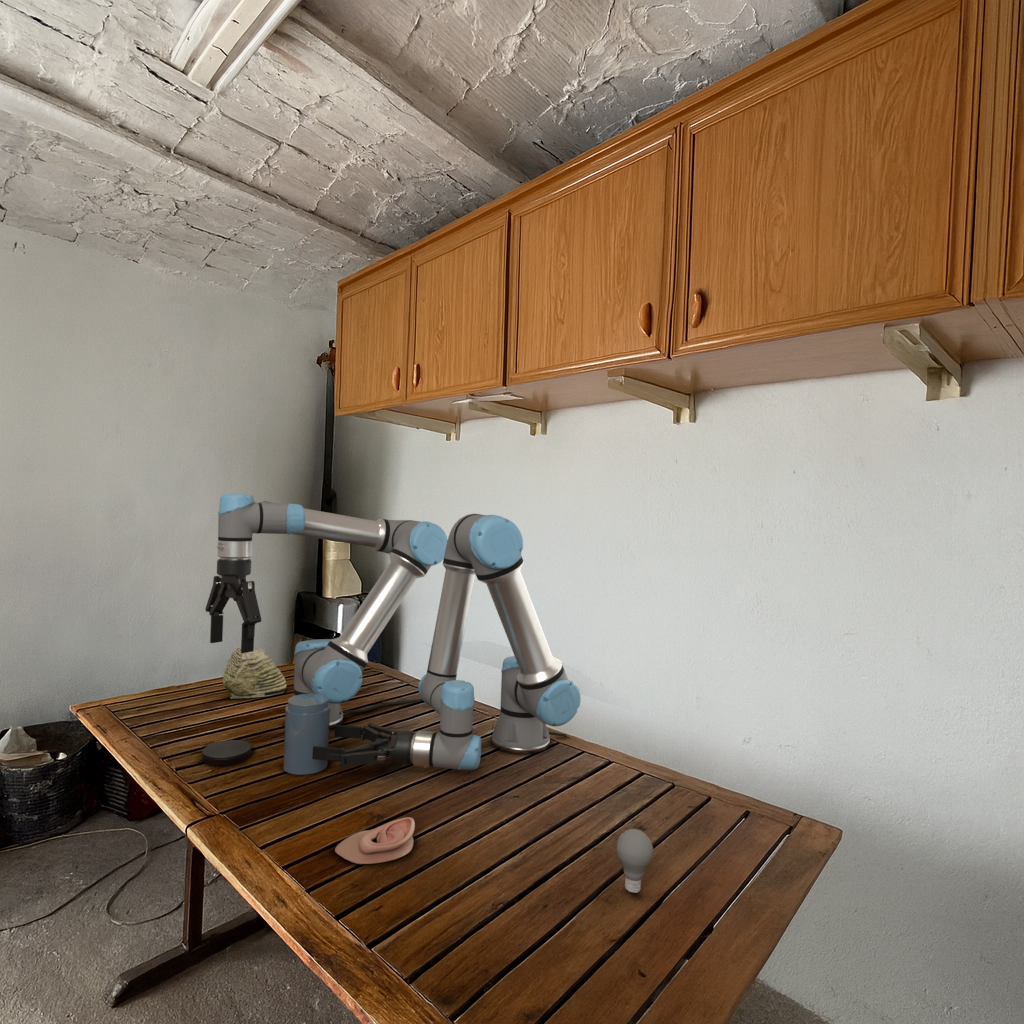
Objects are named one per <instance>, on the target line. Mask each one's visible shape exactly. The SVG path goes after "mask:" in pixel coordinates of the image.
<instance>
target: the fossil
mask: <svg viewBox="0 0 1024 1024" xmlns="http://www.w3.org/2000/svg"><path fill="white" fill-rule="evenodd" d="M222 676H223V677H222V685H223V687H224V688H225V690H226V691H228V693H229V698H230V699H250V698H264V697H271V696H275V695H281V694H284V693H285V691H286V689H287V687H288V686H287V680H286V678H285V676H284V674H283V673H282V672H281V669H279V668H278V667H277V665H276V663H275V662H274V660H273V659H272V658H271V657H270V656H269V655H268V654H267V653H266V652H265V650H264V649H263V648H260V647H258V648H254V651H253V652H247V653H241V646H238V647H237V648H236V649H235V650H233V651H232V653H231V656H230V657H229V659H228V660H227V663H226V666H225V668H224V671H223V675H222Z"/></svg>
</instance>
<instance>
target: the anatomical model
mask: <svg viewBox="0 0 1024 1024" xmlns="http://www.w3.org/2000/svg"><path fill="white" fill-rule="evenodd" d="M415 828H416V823H415V820H414V818H413V817H410V816H409V817H402V818H398V819H395V820H392V821H389V822H386V823H384V824H382V825H380V826H377V827H375V828H372V829H368V830H361V831H358V832H356V833H353V834H352V835H350V836H348V837H346V838H345V839H343V840H342V841H340V843H338V844H337V845H336V846H335V848H334V852H335V853H336V854H337V855H338V856H340V857H341V858H343V859H344V860H347V861H348V862H351V863H353V864H357V865H369V864H370V865H371V864H380V863H385V862H390V861H394V860H398V859H400V858H402V857H404V856H407V855H408V854H409V853H410V852H411V851H412V849H413V847H414V837H413V835H414V833H415Z"/></svg>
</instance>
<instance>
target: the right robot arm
mask: <svg viewBox="0 0 1024 1024" xmlns="http://www.w3.org/2000/svg"><path fill="white" fill-rule="evenodd" d="M447 540H448V541H447V545H446V549H445V554H444V559H443V560H442V566H443V567H444V569H445V571H444V577H443V581H442V582H443V583H442V589H441V593H440V599H439V604H438V609H437V616H436V621H435V626H434V631H433V636H432V643H431V646H430V647H431V648H430V653H429V659H428V664H427V669H426V673H425V674H424V675H423V676H422V677H421V678H420V680H419V682H418V685H417V690H418V694H419V696H420V697H421V698H422V699H423V700H424V701H423V702H424V703H425V704H426V705H427V706H429V707H431V708H432V709H433V710H434V712H435V713H437V714H438V715H439V716H440V719H439V723H440V724H439V732H436V731H435V732H434V731H424V730H422V731H421V730H418V731H417V732H416V731H414V730H407V729H400V730H397V729H391V728H387V727H385V726H381V725H377V724H375V723H371V722H370V723H367V725H363V726H356V725H343V724H340V725H335V728H334V735H333V736H334V738H342V739H343V738H345V739H357V740H362V741H364V740H367V741H369V742H370V743H369V744H367V745H363V746H359V747H352V748H348V749H345V748H344V747H342V746H341V747H334V746H333V747H331V746H329V747H320V746H314V747H313V756H312V759H314V760H327V761H328V762H339V767H341V768H347V767H356V766H364V765H366V766H367V765H373V764H374V765H375V764H377V765H379V764H380V765H383V764H387V758H392V759H393V762H394V763H395V764H396V765H399V766H411V765H413V766H414V767H423V768H424V769H427V768H439V769H440V768H441V769H451V770H457V771H473V770H477V769H478V767H479V766H480V763H481V758H482V757H481V756H482V738H481V736H479V735H476V734H474V731H473V726H474V725H473V724H474V709H475V708H474V707H475V702H476V700H475V688H474V685H473V684H472V683H471V682H469V681H465V680H463V679H462V680H461V679H457V676H458V671H459V664H460V659H461V653H462V648H463V642H464V638H465V633H466V627H467V623H468V617H469V613H470V612H469V611H470V606H471V600H472V596H473V590H474V585H475V584H474V583H475V581H476V580H475V579H477V581H479V582H481V583H484V584H486V587H487V589H488V592H489V594H490V598H491V599H492V602H493V604H494V607H495V610H496V612H497V615H498V617H499V620H500V623H501V625H502V627H503V630H504V632H505V635H506V638H507V640H508V642H509V643H508V644H509V646H510V648H511V650H512V653H513V655H512V656H508V657H507V656H506V657H505V658H504V659H503V661H502V666H501V670H500V672H501V679H500V680H501V682H500V707H499V709H500V710H499V715H498V717H497V721H496V723H494V722H493V723H492V726H491V731H492V738H491V743H492V745H493V746H494V747H496V748H497V749H499V750H500V751H504V752H506V753H512V754H519V755H527V754H529V755H531V754H537V753H539V752H543V751H545V750H547V749H548V748H549V747H550V743H551V741H550V739H551V737H550V736H558V737H564V738H567V736H568V735H567V733H561V732H554V731H549V729H548V726H549V727H562V726H564V725H565V724H567V723H569V722H570V721H571V720H573V718H574V717H575V716H576V714H577V713H578V709H579V708H580V705H581V702H582V701H581V700H582V695H581V690H580V688H579V687H578V685H577V684H576V683H575V682H574V681H573V680H571V679H569V678H568V676H567V673H566V670H565V668H564V665H563V663H562V662H563V661H561V660H560V659H559V658H557V657H555V656H553V654H552V652H551V649H550V646H549V642H548V641H547V638H546V635H545V632H544V630H543V628H542V625H541V622H540V619H539V616H538V614H537V611H536V609H535V606H534V603H533V600H532V598H531V596H530V593H529V591H528V588H527V585H526V582H525V580H524V577H523V574H522V571H521V569H522V568H523V565H524V563H525V562H524V559H523V555H522V551H523V550H524V539H523V535H522V533H521V530H520V529H519V527H518V526H517V525H516V524H515V523H514V522H513V521H512V520H510V519H508V518H506V517H504V516H501V515H496V514H481V513H469V514H466V515H464V516H462V517H460V518H459V519H458V520H457V521H456V522H455V523H454V524H453V526H452V527H451V529H450V531H449V534H448V536H447ZM547 725H548V726H547Z"/></svg>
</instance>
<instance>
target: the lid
mask: <svg viewBox="0 0 1024 1024" xmlns="http://www.w3.org/2000/svg"><path fill="white" fill-rule="evenodd" d="M251 756H252V744H251V743H250V742H248V741H245V740H240V739H228V740H222V741H217V742H213V743H211V744H208V745H207V746H205V747H204V748H203V749H202V755H201V761H202V762H203V764H205V765H208V766H212V767H227V766H233V765H237V764H241V763H244V762H245V761H247V760H248V759H250V758H251Z"/></svg>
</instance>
